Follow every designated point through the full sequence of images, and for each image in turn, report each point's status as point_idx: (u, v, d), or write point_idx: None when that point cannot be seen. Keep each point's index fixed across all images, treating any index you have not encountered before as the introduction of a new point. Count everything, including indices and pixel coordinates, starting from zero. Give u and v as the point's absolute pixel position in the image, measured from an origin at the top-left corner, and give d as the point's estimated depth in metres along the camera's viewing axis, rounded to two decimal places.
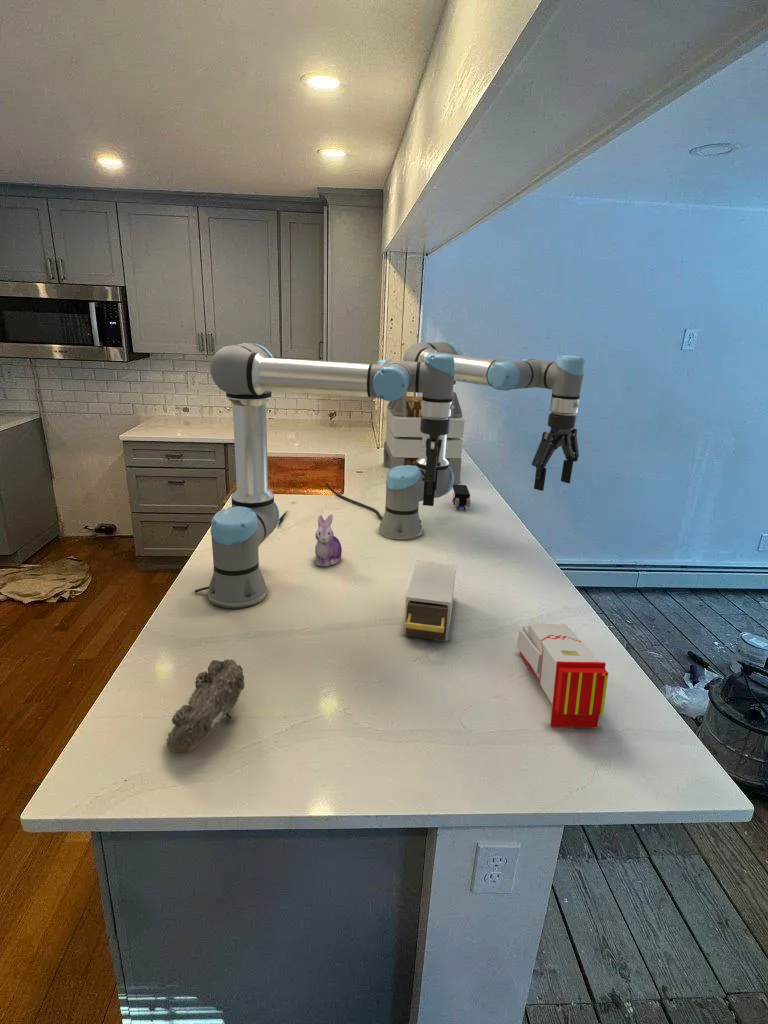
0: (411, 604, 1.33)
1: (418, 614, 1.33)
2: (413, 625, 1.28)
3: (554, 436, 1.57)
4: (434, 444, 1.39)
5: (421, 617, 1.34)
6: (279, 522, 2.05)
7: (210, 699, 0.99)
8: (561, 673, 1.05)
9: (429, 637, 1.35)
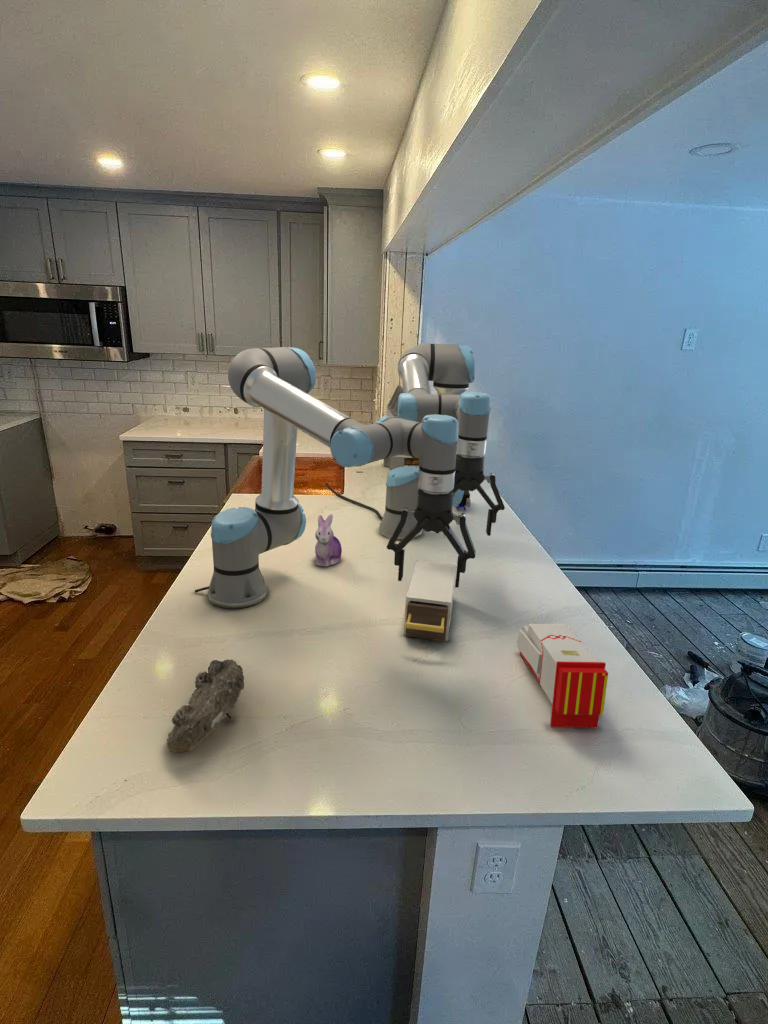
0: (411, 604, 1.33)
1: (418, 614, 1.33)
2: (413, 625, 1.28)
3: None
4: None
5: (421, 617, 1.34)
6: None
7: (210, 699, 0.99)
8: (561, 673, 1.05)
9: (429, 637, 1.35)
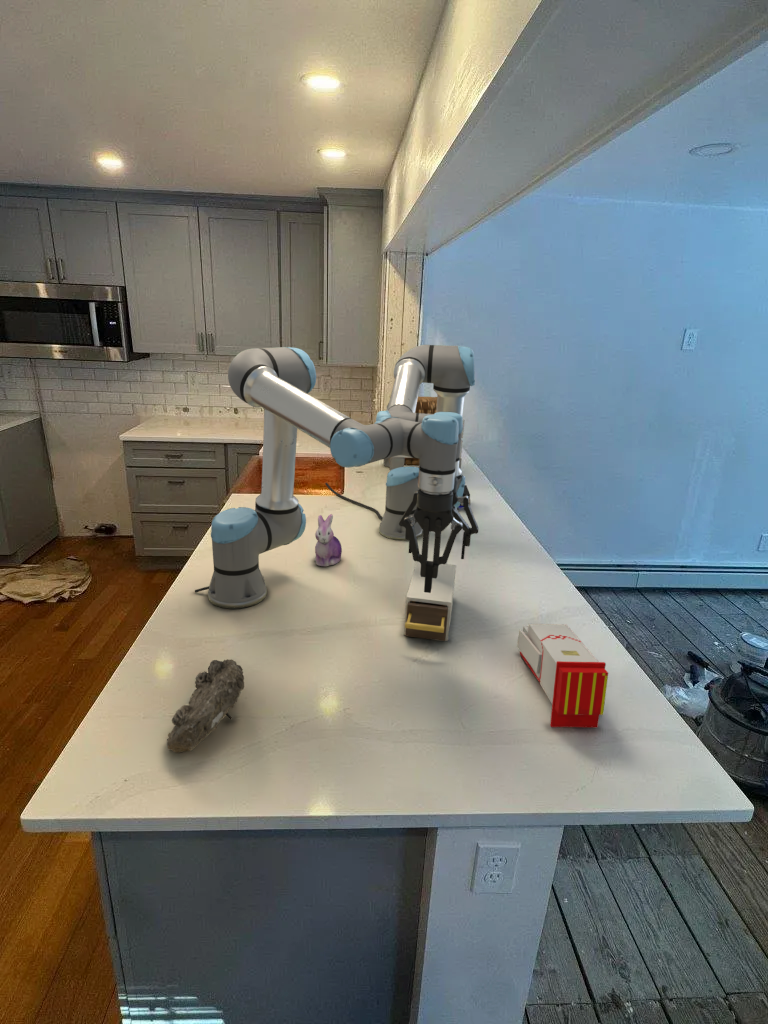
0: (411, 604, 1.33)
1: (418, 614, 1.33)
2: (413, 625, 1.28)
3: None
4: None
5: (421, 617, 1.34)
6: None
7: (210, 699, 0.99)
8: (561, 673, 1.05)
9: (429, 637, 1.35)
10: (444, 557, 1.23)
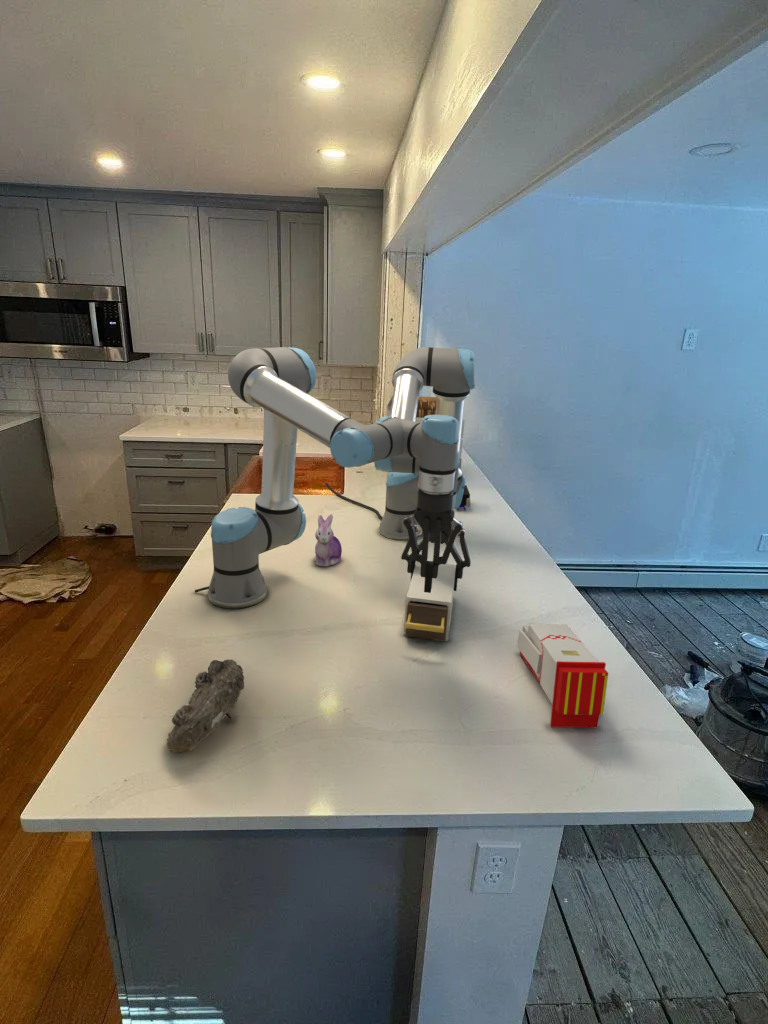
0: (411, 604, 1.33)
1: (418, 614, 1.33)
2: (413, 625, 1.28)
3: (422, 529, 1.45)
4: None
5: (421, 617, 1.34)
6: None
7: (210, 699, 0.99)
8: (561, 673, 1.05)
9: (429, 637, 1.35)
10: (444, 557, 1.23)
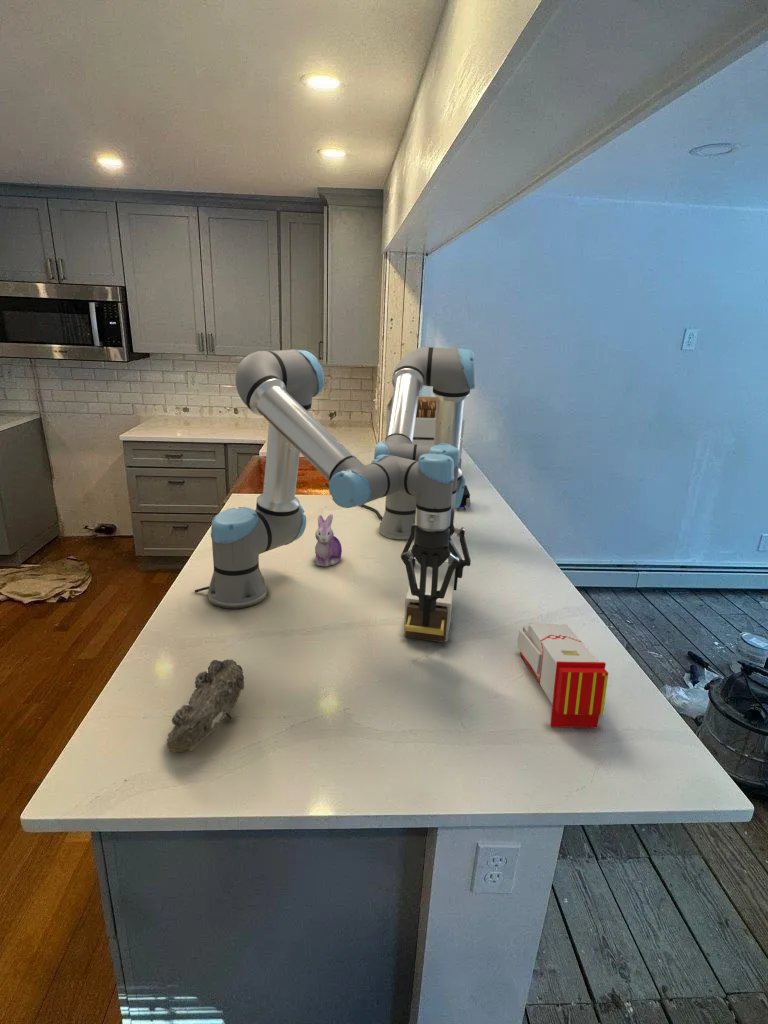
0: (411, 606, 1.33)
1: (418, 616, 1.33)
2: (413, 628, 1.28)
3: None
4: None
5: (421, 619, 1.33)
6: None
7: (210, 699, 0.99)
8: (561, 673, 1.05)
9: (429, 638, 1.35)
10: (442, 591, 1.25)
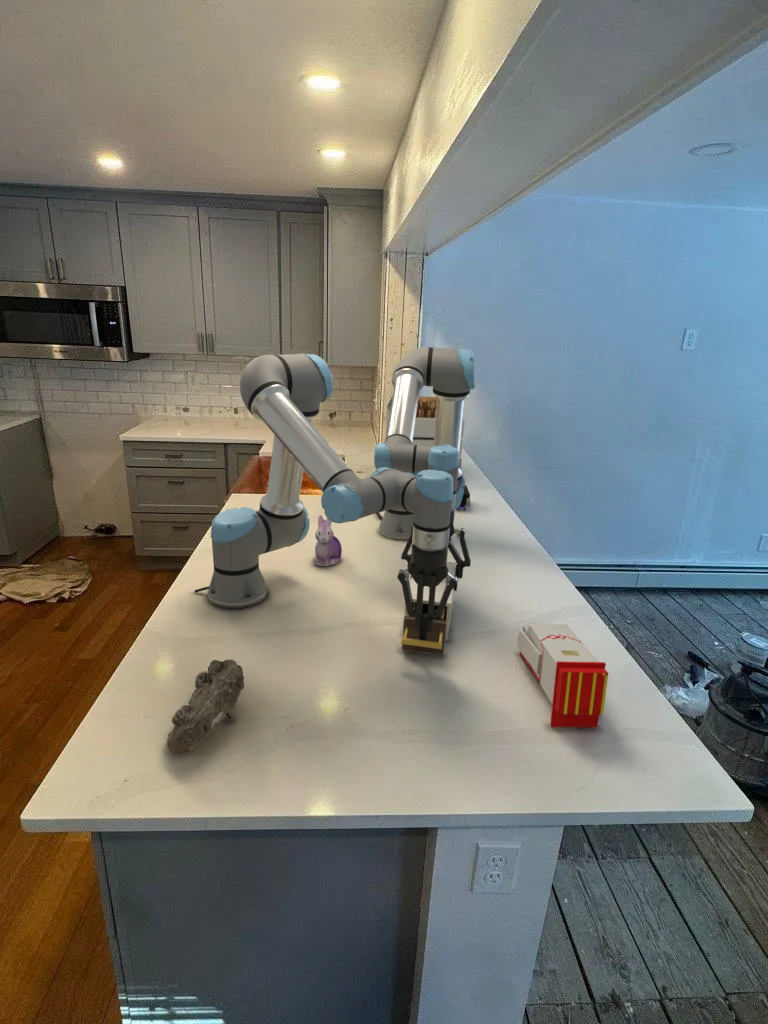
0: (408, 618, 1.28)
1: None
2: (410, 641, 1.23)
3: None
4: None
5: (418, 631, 1.28)
6: None
7: (210, 699, 0.99)
8: (561, 673, 1.05)
9: (427, 651, 1.30)
10: (439, 611, 1.21)
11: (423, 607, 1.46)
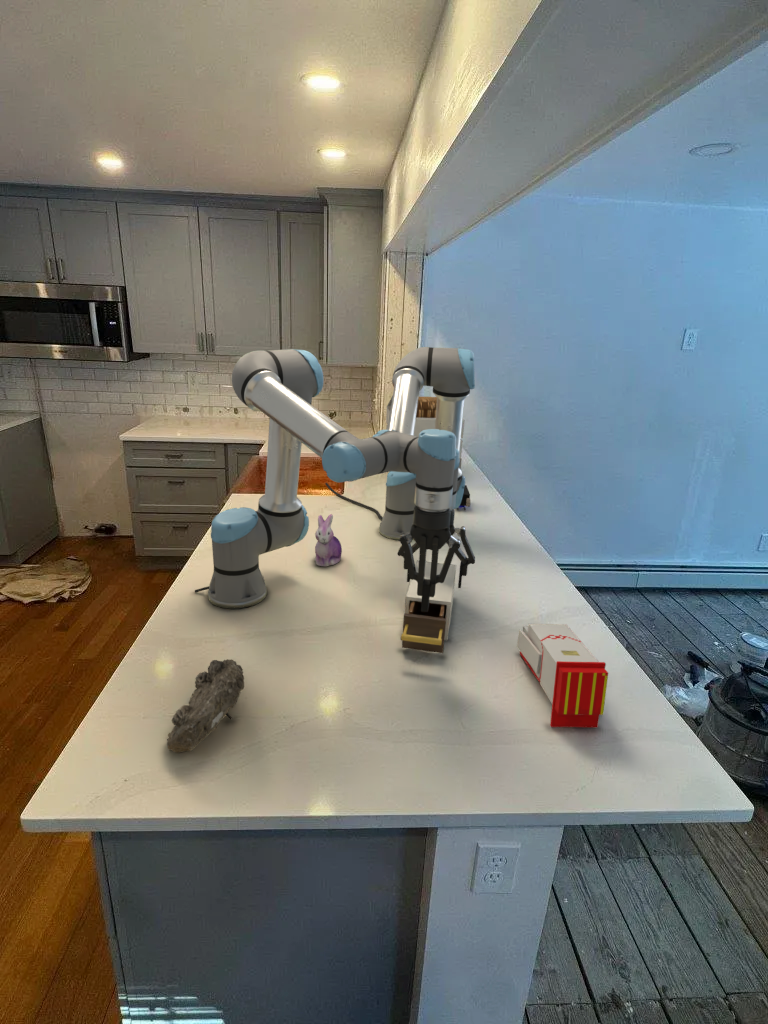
0: (408, 615, 1.29)
1: (415, 625, 1.29)
2: (409, 637, 1.23)
3: None
4: None
5: (418, 628, 1.29)
6: None
7: (210, 699, 0.99)
8: (561, 673, 1.05)
9: (426, 649, 1.30)
10: (441, 576, 1.19)
11: None
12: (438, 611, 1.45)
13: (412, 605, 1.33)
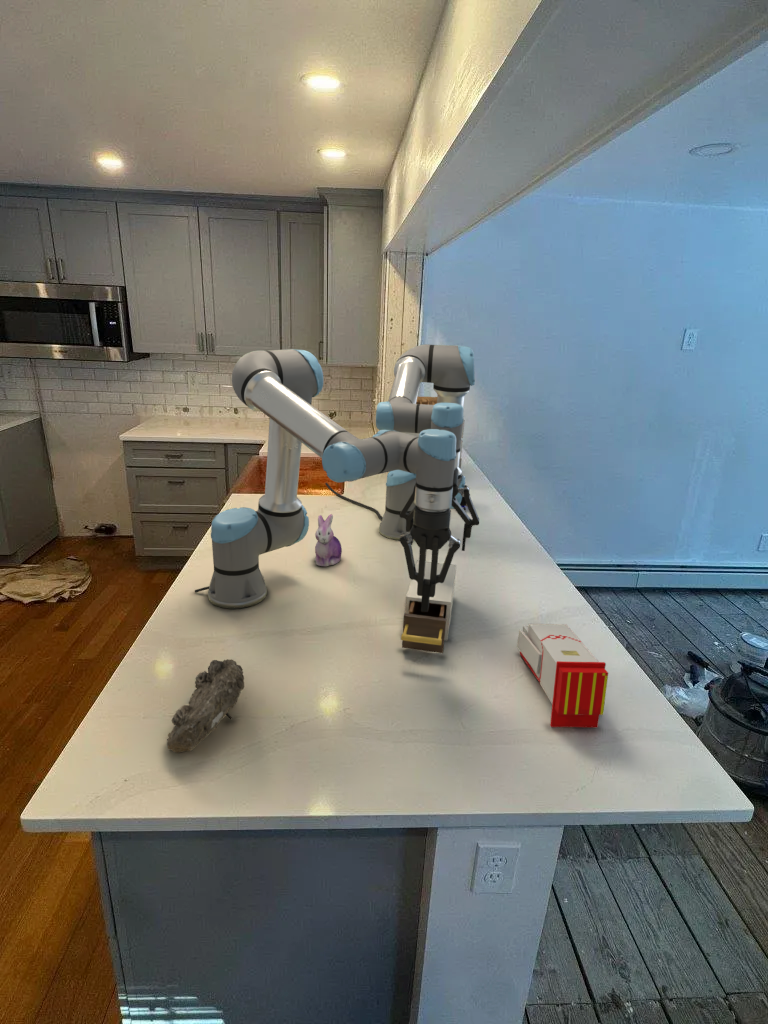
0: (408, 615, 1.29)
1: (415, 625, 1.29)
2: (409, 637, 1.23)
3: None
4: None
5: (418, 628, 1.29)
6: None
7: (210, 699, 0.99)
8: (561, 673, 1.05)
9: (426, 649, 1.30)
10: (441, 576, 1.19)
11: None
12: (438, 611, 1.45)
13: (412, 605, 1.33)
